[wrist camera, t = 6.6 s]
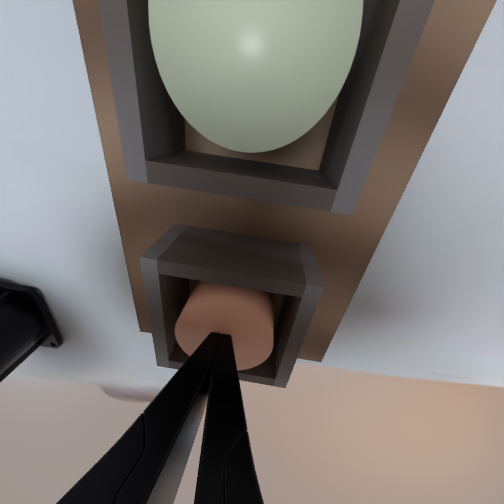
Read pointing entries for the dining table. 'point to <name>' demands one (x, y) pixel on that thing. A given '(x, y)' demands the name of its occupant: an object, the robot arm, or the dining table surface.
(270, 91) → the sage button
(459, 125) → the dining table surface
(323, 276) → the button panel
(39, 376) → the dining table surface
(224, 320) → the terracotta button
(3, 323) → the robot arm
